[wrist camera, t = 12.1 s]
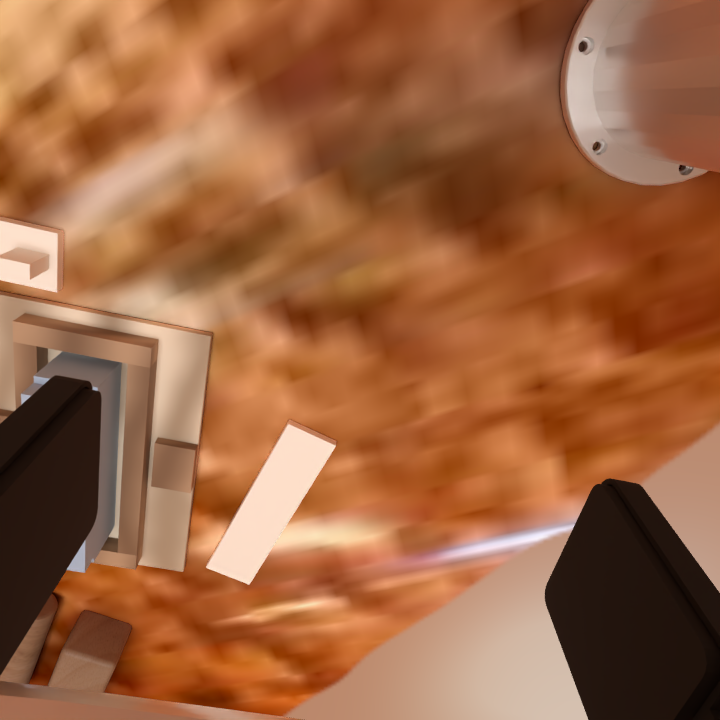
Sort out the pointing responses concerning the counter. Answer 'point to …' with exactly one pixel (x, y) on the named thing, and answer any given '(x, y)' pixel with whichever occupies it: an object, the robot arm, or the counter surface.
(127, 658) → the counter surface
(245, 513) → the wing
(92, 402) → the robot arm
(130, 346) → the jig
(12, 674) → the wooden block set
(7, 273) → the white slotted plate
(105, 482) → the notched grey stepped bar
